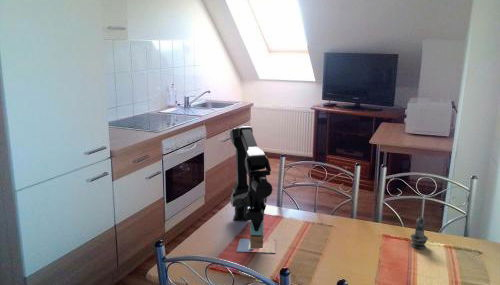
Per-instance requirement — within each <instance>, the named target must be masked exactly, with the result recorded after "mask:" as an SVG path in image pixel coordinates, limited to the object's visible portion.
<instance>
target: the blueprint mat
mask: <svg viewBox="0 0 500 285" xmlns="http://www.w3.org/2000/svg"><path fill="white" fill-rule="evenodd" d="M252 249H253V250H254V249H259V248H250V238H239V242H238V245H237V247H236V253H244V252H251V251H253V250H252Z"/></svg>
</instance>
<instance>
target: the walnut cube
mask: <svg viewBox="0 0 500 285" xmlns="http://www.w3.org/2000/svg"><path fill="white" fill-rule="evenodd" d="M249 239H250V248H263V239H264V234H263V235H250V236H249Z"/></svg>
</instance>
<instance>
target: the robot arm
mask: <svg viewBox="0 0 500 285" xmlns="http://www.w3.org/2000/svg"><path fill="white" fill-rule="evenodd" d="M229 138H230V140H231V143H232V145H233V146H234V149H235V171H236V175H235V176H236V182H235V184H234V185H233V187H232V193H231V196H230V200H229V201H230V204H231V206H232V207H233V208H234V215H233V218H232V220H233V221H247V222H248V221H251V220H252V223H253V226H254V230H255V231H258V230H259V227H260V225H261V223H262V221H264V219H265V211H266V207H267V201H268V197H270V196H271V194H272V193H273V186H272V184H271V183H270V182H269V181H268V178H267V176H270V175H271V171H272V169H271V168H272V167H271V163H270V161H269V158H268V156H267V155H266V154H265V152H264V150H263V149H261V148H259V147H258V143H257V142H256V139H255V136H254V131H253V127H252V126H251V125H250V126H249V125H246V126H244V125H243V126H239V127H236V128H235V127H234V128H232V129H231V130H230V131H229Z"/></svg>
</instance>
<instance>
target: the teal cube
mask: <svg viewBox="0 0 500 285" xmlns="http://www.w3.org/2000/svg"><path fill="white" fill-rule="evenodd" d="M249 226H250V228H249V231H250V233H249V234H250V235H263V236H264V220H263V221H262V223H261V225H260V227H259V230H258V231H255V230H254V226H253V223H252V220H250V223H249Z"/></svg>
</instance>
